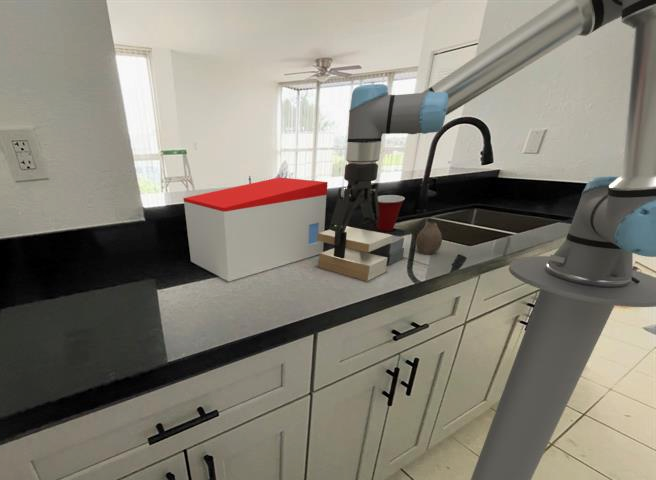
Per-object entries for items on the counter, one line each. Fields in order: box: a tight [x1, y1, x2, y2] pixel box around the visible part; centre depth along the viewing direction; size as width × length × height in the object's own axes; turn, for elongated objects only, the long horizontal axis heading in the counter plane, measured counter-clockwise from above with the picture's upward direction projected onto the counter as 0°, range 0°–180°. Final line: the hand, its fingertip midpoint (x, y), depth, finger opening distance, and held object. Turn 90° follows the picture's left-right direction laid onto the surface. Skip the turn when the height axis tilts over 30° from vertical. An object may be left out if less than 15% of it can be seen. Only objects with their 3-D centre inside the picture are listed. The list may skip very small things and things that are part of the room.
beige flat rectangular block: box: [317, 226, 394, 253], centre depth 86 cm, size 15×11×2 cm
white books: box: [317, 247, 388, 282], centre depth 89 cm, size 15×9×4 cm, turn 42°
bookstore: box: [183, 176, 328, 282], centre depth 97 cm, size 21×35×21 cm, turn 127°
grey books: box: [345, 235, 405, 266], centre depth 98 cm, size 15×9×6 cm, turn 42°
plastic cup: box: [376, 194, 406, 232], centre depth 125 cm, size 11×11×12 cm
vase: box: [415, 222, 443, 255], centre depth 99 cm, size 7×7×9 cm
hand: (352, 251), depth 88 cm, fingers closed on beige flat rectangular block, 11 cm apart
